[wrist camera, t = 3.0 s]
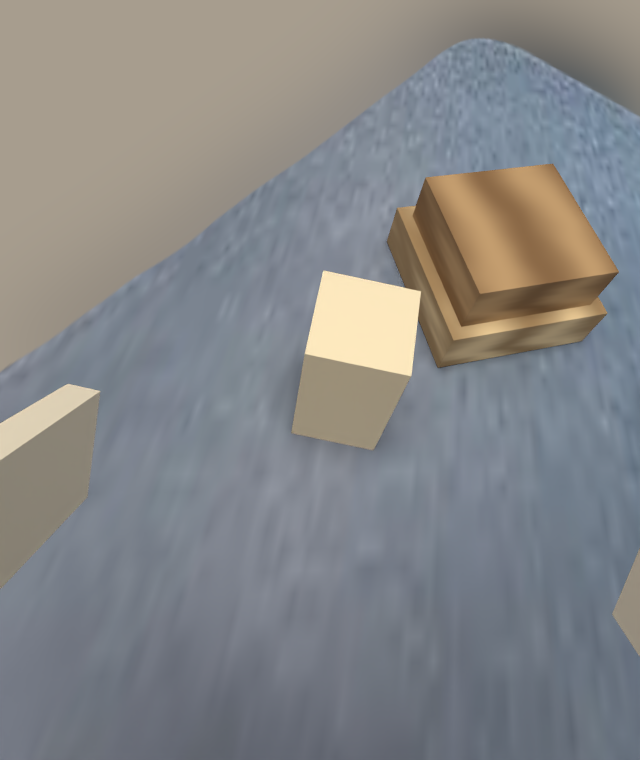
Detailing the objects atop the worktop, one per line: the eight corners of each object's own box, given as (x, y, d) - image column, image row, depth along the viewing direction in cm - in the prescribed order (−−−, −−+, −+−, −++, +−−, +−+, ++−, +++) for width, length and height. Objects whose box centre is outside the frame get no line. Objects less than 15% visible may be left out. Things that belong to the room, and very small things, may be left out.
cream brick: (383, 378, 45) (421, 291, 36) (373, 450, 42) (411, 376, 33) (306, 362, 45) (323, 270, 35) (291, 433, 42) (304, 353, 33)
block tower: (518, 223, 55) (558, 153, 48) (581, 341, 49) (637, 281, 42) (386, 241, 52) (409, 169, 45) (437, 367, 46) (472, 308, 39)
